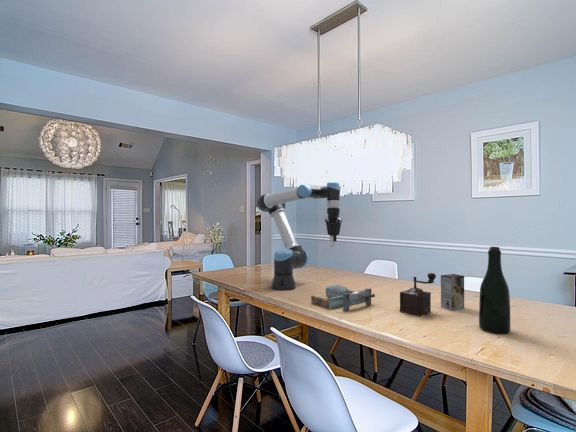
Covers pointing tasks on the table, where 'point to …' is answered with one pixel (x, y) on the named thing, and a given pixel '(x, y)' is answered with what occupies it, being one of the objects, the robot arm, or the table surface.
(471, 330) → the table surface
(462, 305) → the coffee box
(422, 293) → the manual coffee grinder
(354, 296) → the grey clamp
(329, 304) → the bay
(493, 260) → the dark green wine bottle
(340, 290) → the grey rounded barrel
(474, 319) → the table surface
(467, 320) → the table surface
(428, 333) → the table surface
